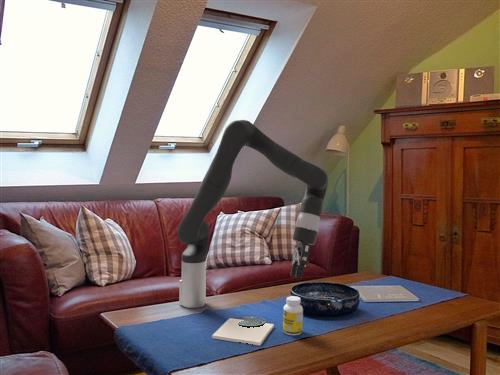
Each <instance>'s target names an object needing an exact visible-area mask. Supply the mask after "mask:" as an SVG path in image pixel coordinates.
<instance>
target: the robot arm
mask: <svg viewBox="0 0 500 375" xmlns="http://www.w3.org/2000/svg"><path fill="white" fill-rule="evenodd" d="M243 147H248V148H250V149H253V150H254V151H257V152H258V153H260V154H261V155H263V156H264V157H265V158H266V159H267V160H268V161H269V162H270V163H271V164H272V165H273V166H274V167H276V168H277V169H278V170H280V171H281V172H283V173H285V174H286V175H288V176H290V177H292V178H295V179H298V180H299V181H301V182H302V183H304V184H305V185H306V187H305V192H304V195H303V196H304V197H302V199H301V200H302V201H301V202H300V203H301V204H300V208H299V212H298V215H297V218H296V222H295V225H294V231H293V235H292V240H293V241H295V242H297V244H295V245H294V250H293V254H292V258H291V265H292V266H291V270H290V273H289V274H290V276H291V277H293V278H296V279H297V278H298V279H300V280H301V279H303V276H304V273H305V268H306V267H307V265H308V264H309V258H310V254H311V249H312V247H311V246H315V244H316V242H317V237H318V233H319V228H320V220H321V214H322V211H323V204H324V203H323V202H324V200H325V196H326V194H327V193H326V192H327V189H328V186H329V185H328V184H329V179H328V174H327V173H326V171H325V170H324V169H322V168H321V167H319V166H317V165H315V164H314V163H311V162H309V161H306V160H304V159H303V158H301V157H300V156H298V155H296V154H295V153H294V152H292V151H290V150H288V149H287V148H285V147H283V146H282V145H280V144H278V143H277V142H275V141H274V140H272V139H271V138H270V137H269V136H267V135H266V134H265V133H263V131H261V130H260V129H259V128H258V127H257V126H255V124H253V123H252V122H251V121H249V120H246V119H239V120H237V119H235V120H233V121H231V122H230V123H228V124H227V125H226V127H225V129H224V131H223V132H222V136H221V139H220V142H219V145H218V147H217V149H216V153H215V155H214V157H213V158H212V160H211V163H210V165H209V167H208V169H207V171H206V173H205V175H204V177H203V179H202V181H201V183H200V185H199V188H198V190H197V192H196V194H195V196H194V198H193V199H192V202H191V204H190V206H189V208H188V210H187V211H186V213H185V214H184V216H183V217H182V219H181V221H180V223H179V224H178V226H177V239H178V241H179V242H180V243H181V244H183V245H187V247H186V248H185V249H184V251H183V252H182V253H181V279H180V280H179V282H178V284H179V295H178V297H179V298H178V300H179V304H178V305H179V306H182V307H184V308H189V309H197V308H198V309H199V308H201V307H204V306H206V301H207V299H206V297H207V296H206V295H207V294H206V292H207V290H206V289H207V288H206V286H207V285H206V284H207V280H206V279H207V276H206V275H207V255H208V253H209V252H208V251H209V245H210V244H209V241H210V230H209V225H208V223H207V221H206V220H205V218H206V216H208V215H209V213H210V212H211V211H212V210H213V209H214V208H215V207H216V205H218V204H219V202H220V201H221V200H222V199H223V197H224V196H225V193H226V192H227V190H228V187H229V185H230V184H231V179H232V175H233V174H232V173H233V168H234V163H235V161H236V159H237V157H238V155H239V153H240V152H241V150H242V149H243Z"/></svg>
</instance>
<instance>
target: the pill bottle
mask: <svg viewBox="0 0 500 375" xmlns="http://www.w3.org/2000/svg"><path fill="white" fill-rule="evenodd" d="M285 300H286V304H285V305H283V310H282V311H283V313H282V315H283V316H282V331H283V333H284V334H286V335H289V336H299V335H301V334H302V333H303V321H304V319H303V318H304V308H303V306H302V305H301V301H302V300H301V297H299V296H295V295H291V296H287V297H286V299H285Z"/></svg>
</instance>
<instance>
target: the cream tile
mask: <svg viewBox="0 0 500 375" xmlns="http://www.w3.org/2000/svg"><path fill="white" fill-rule="evenodd" d="M244 320H245V319H240V318H239V319H237V318H231V317H230V318H228V319H227V320H226V321H225V322H224V323H223V324H222V325H221V326H220V327H219V328H218V329H217V330H216V331H215V332H214V333H213V334H212V335H211V338H212V339H213V340H221V341H226V342H227V341H228V342H233V343H239V342H241V343H240V344H246V343H248V345H252V344H253V346H261V345H262V344H263V343H264V341H265V340H266V338H267V337H268V335H270V333H271V331H272V330H273V329H274V327H275V324H274V323H267V322H264V323H265V324H264V325H263V326H260V327H254V328H253V327H250V328H247V327H242V326H239V325H238V323H239V322H241V321H244Z"/></svg>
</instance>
